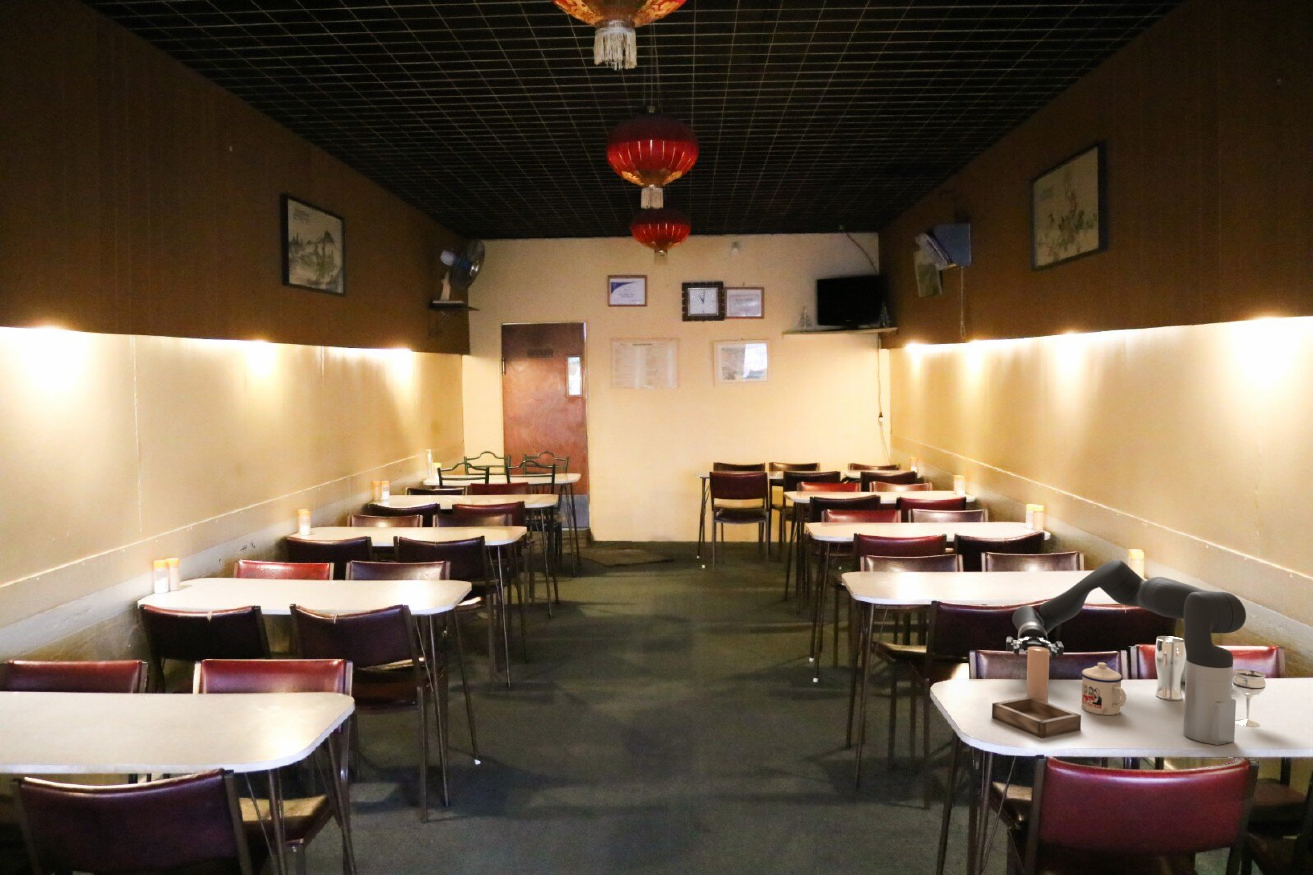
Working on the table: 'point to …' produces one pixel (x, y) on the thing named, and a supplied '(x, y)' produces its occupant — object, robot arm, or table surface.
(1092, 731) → the table surface
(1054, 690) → the table surface
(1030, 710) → the tray
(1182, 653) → the beer glass
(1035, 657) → the canister
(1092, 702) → the teacup with lid
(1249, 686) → the wineglass
